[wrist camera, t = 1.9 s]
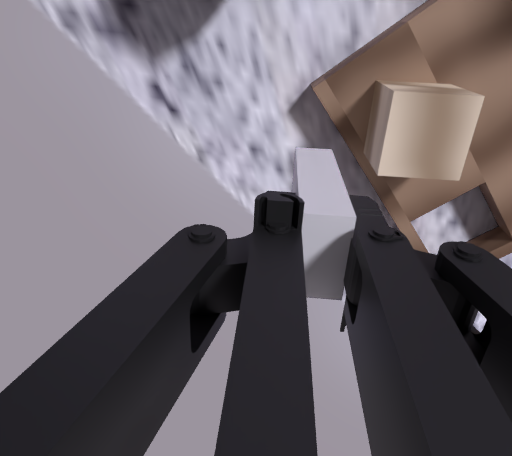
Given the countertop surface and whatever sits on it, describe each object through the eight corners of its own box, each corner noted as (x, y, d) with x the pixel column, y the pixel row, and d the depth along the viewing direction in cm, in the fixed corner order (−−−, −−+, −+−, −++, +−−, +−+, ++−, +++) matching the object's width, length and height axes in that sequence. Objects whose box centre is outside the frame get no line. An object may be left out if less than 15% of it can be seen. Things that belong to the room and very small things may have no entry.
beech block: (363, 152, 29) (377, 175, 24) (375, 80, 26) (394, 91, 22) (432, 156, 28) (459, 180, 24) (451, 84, 26) (484, 96, 22)
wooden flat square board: (310, 83, 29) (312, 88, 27) (604, -126, 23) (638, -142, 20) (425, 271, 36) (435, 287, 34) (677, 151, 29) (708, 162, 27)
